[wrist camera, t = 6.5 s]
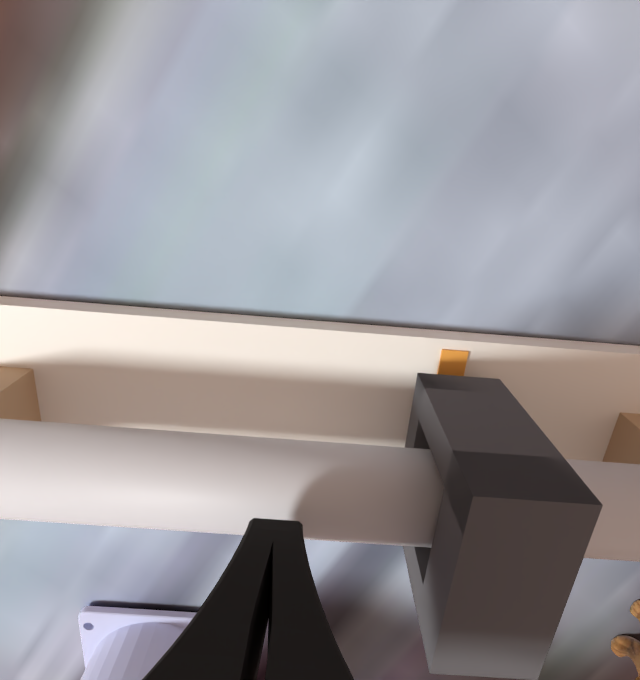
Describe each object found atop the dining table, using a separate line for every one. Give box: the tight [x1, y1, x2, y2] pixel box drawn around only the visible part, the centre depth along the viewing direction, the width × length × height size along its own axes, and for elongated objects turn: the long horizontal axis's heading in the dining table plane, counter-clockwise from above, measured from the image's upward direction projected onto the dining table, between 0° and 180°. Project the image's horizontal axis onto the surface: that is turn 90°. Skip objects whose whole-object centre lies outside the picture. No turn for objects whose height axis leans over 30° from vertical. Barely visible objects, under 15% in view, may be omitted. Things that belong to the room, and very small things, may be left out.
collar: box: [403, 373, 603, 680], centre depth 15 cm, size 6×3×7 cm, turn 175°
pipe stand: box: [0, 296, 640, 561], centre depth 16 cm, size 8×29×7 cm, turn 85°
